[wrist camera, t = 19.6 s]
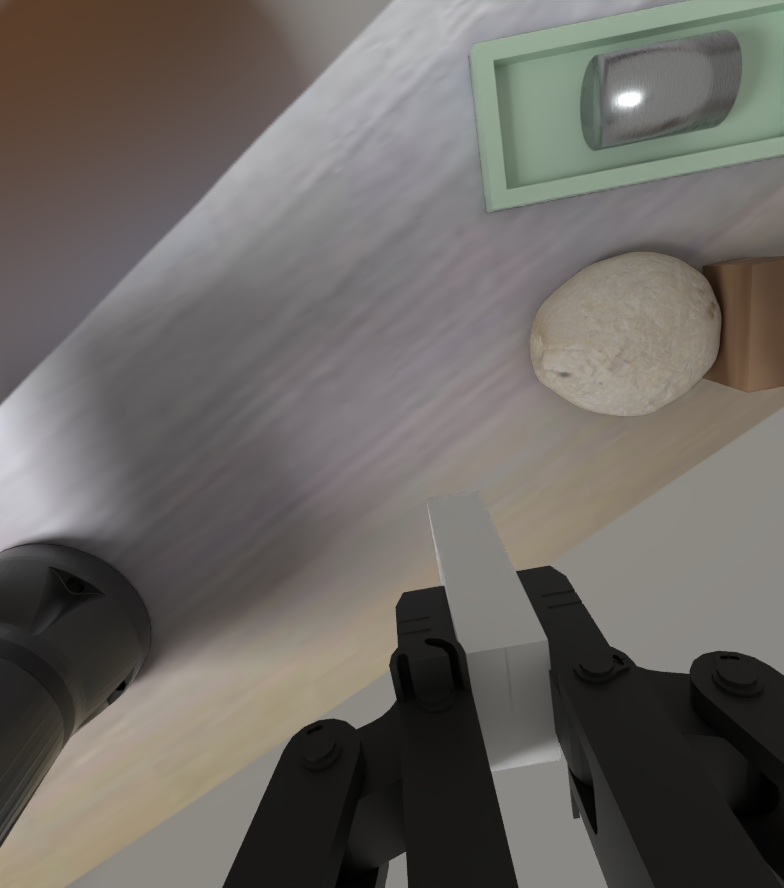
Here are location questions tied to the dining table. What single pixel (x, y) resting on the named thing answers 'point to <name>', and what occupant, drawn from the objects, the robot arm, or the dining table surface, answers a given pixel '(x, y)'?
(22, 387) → the dining table surface
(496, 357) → the dining table surface
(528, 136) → the tray
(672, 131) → the roller
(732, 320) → the block
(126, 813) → the dining table surface
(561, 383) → the stone
